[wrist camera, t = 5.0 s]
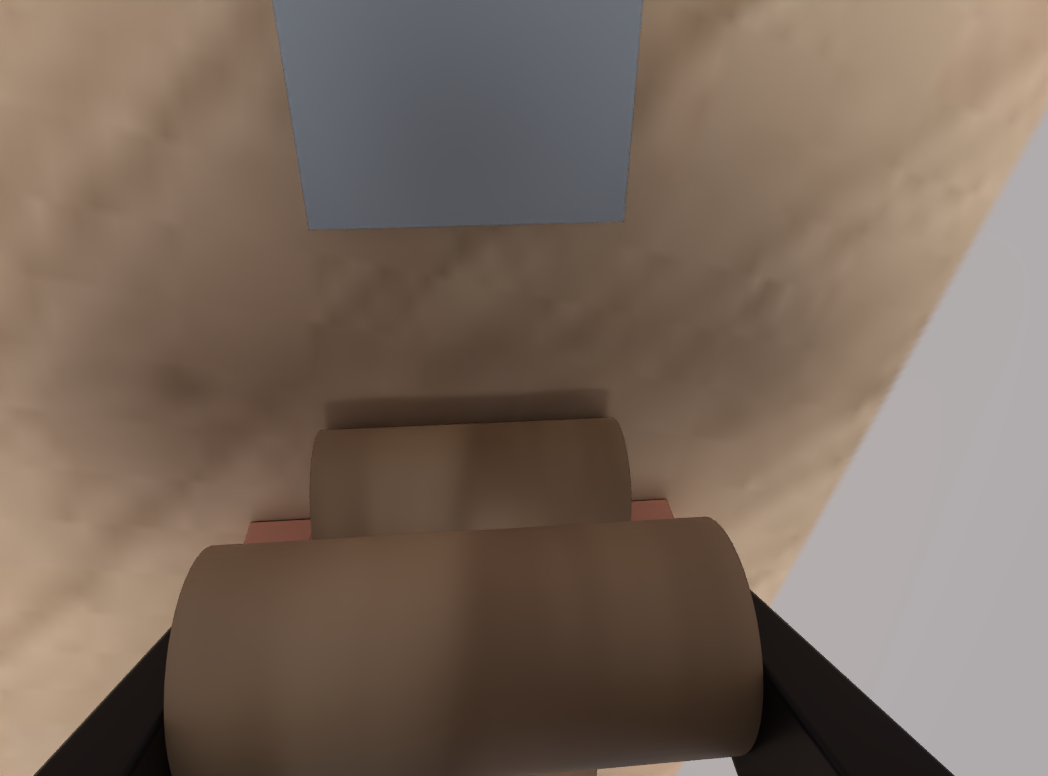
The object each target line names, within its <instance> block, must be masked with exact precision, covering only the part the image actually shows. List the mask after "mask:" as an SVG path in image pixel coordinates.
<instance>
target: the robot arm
mask: <svg viewBox="0 0 1048 776" xmlns="http://www.w3.org/2000/svg"><path fill="white" fill-rule="evenodd" d="M750 592H751V596H752V600H753V604H754V608H755V613H756V618H757V623H758V630H759V636H760V643H761V652H762V664H763V708H762V716H761V722H760V727H759V732H758V735H757V738H756V741H755V743H754V745H753V746H752V748H751V750H750V751H749V752H748V753H747V754H745V755H742V756H735V757H732V760H733V763H734V766H735V769H736V772H737V774H738V776H954V775H953V774H952V773H951V772H950V771H949V770H948V769H947V768H946V767H944V766H943V765H942V764H941V763H940V762H939V761H938V760H937V759H935V757H933V756H932V755H931V754H930V753H929V752H928V751H927V750H926V749H924V747H923V746H921V745H920V744H919V743H918V742H917V741H916V740H915V739H914V738H913V737H912V736H910V735H909V734H908V733H907V732H906V731H905V730H904V729H903V728H902V727H901V726H899V725H898V724H897V723H896V722H895V721H894V720H893V719H892V718H891V717H890V716H889V715H887V714H886V713H885V712H884V711H883V710H882V709H881V708H880V707H879V706H877V705H876V704H875V703H874V702H873V701H872V700H871V699H870V698H869V697H867V696H866V695H865V694H864V693H863V692H862V691H861V690H860V689H859V688H858V687H857V686H856V685H854V684H853V683H852V682H851V681H850V680H849V679H848V678H847V677H846V676H845V675H843V674H842V673H841V672H840V671H839V670H838V669H837V668H836V667H835V666H834V665H833V664H831V663H830V662H829V661H828V660H827V659H826V658H825V657H824V656H823V655H822V654H820V653H819V652H818V651H817V650H816V649H815V648H814V647H813V646H812V645H811V644H809V643H808V642H807V641H806V640H805V639H804V638H803V637H802V636H801V635H799V634H798V633H797V632H796V631H795V630H794V629H793V628H792V627H791V626H790V625H788V623H786V622H785V621H784V620H783V619H782V618H781V617H780V616H779V615H778V614H777V613H775V612H774V611H773V610H772V609H771V608H770V607H769V606H768V605H767V604H766V603H764V602H763V601H762V600H761V599H760V598H759V597H758V596H757V595H756V594H755V593H753V592H752V591H751V590H750ZM171 628H172V626H171ZM171 628H170V629H169V630H168V631H167V632H166V633H165V634H164V635H163V636H162V637H161V638H160V639H159V640H158V642H157V643H156V644H155V645H154V646H153V647H152V648H151V649H150V650H149V651H148V652H147V653H146V655H145V656H144V657H143V658H142V659H141V660H140V661H139V662H138V663H137V664H136V665H135V666H134V668H133V669H132V670H131V671H130V672H129V673H128V674H127V675H126V676H125V677H124V678H123V679H122V680H121V682H120V683H119V684H118V685H117V686H116V687H115V688H114V689H113V690H112V691H111V692H110V693H109V695H108V696H107V697H106V698H105V699H104V700H103V701H102V702H101V703H100V704H99V705H98V706H97V708H96V709H95V710H94V711H93V712H92V713H91V714H90V715H89V716H88V717H87V718H86V719H85V721H84V722H83V723H82V724H81V725H80V726H79V727H78V728H77V729H76V730H75V731H74V732H73V733H72V735H71V736H70V737H69V738H68V739H67V740H66V741H65V742H64V743H63V744H62V745H61V746H60V748H59V749H58V750H57V751H56V752H55V753H54V754H53V755H52V756H51V757H50V758H49V759H48V761H47V762H46V763H45V764H44V765H43V766H42V767H41V768H40V769H39V770H38V771H37V772H36V774H35V775H34V776H172V775H171V771H170V767H169V762H168V757H167V750H166V742H165V729H164V683H165V671H166V660H167V652H168V645H169V639H170V633H171Z"/></svg>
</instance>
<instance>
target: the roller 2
mask: <svg viewBox="0 0 1048 776" xmlns="http://www.w3.org/2000/svg"><path fill="white" fill-rule="evenodd" d="M762 708H763V664H762V652H761V643H760V636H759V630H758V623H757V618H756V613H755V608H754V604H753V600H752V596H751V592H750V588H749V585H748V582H747V578H746V575H745V572H744V569H743V567H742V564H741V561H740V559H739V556H738V554H737V552H736V550H735V548H734V546H733V544H732V542H731V540H730V538H729V537H728V535H727V534H726V532H725V531H724V529H723V528H722V527H721V526H720V525H719V524H718V523H717V522H716V521H715V520H713V519H712V518H709V517H694V518H677V519H660V520H642V521H625V522H608V523H591V524H574V525H557V526H540V527H523V528H506V529H489V530H472V531H455V532H437V533H420V534H403V535H386V536H369V537H352V538H335V539H318V540H301V541H284V542H267V543H250V544H233V545H215V546H210V547H208V548H206V549H205V550H204V551H202V552H201V553H200V555H199V556H198V557H197V558H196V560H195V561H194V563H193V565H192V566H191V568H190V570H189V572H188V575H187V577H186V579H185V582H184V584H183V587H182V590H181V593H180V596H179V599H178V603H177V606H176V610H175V614H174V618H173V623H172V628H171V633H170V639H169V645H168V652H167V660H166V671H165V683H164V729H165V742H166V750H167V757H168V762H169V767H170V771H171V775H172V776H526V775H537V774H548V773H559V772H570V771H581V770H592V769H603V768H614V767H625V766H636V765H647V764H658V763H669V762H680V761H691V760H701V759H713V758H724V757H735V756H742V755H745V754H747V753H748V752H749V751H750V750H751V748H752V746H753V745H754V743H755V741H756V738H757V735H758V732H759V727H760V722H761V716H762Z"/></svg>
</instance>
